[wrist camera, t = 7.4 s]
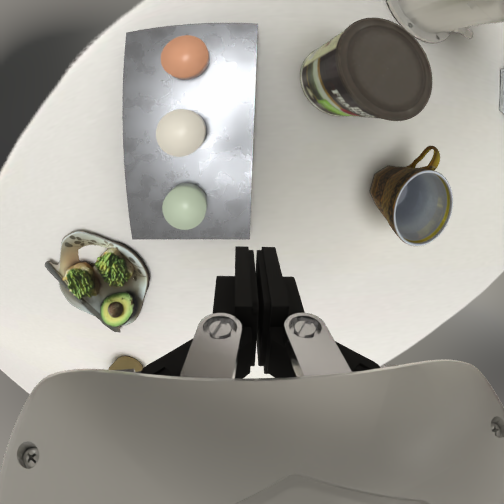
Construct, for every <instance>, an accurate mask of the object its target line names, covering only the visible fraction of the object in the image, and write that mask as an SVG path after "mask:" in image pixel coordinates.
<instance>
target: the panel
mask: <svg viewBox="0 0 504 504" xmlns="http://www.w3.org/2000/svg"><path fill="white" fill-rule="evenodd" d="M184 35H190V36H195V37H197V38H199V39H201V40H202V41H203V42H204V43H205V45H206V47H207V50H208V52H209V58H210V59H209V64H208V66H207V68H206V69H205V71H204V72H203V73H202V74H200V75H199V76H197V77H195V78H193V79H188V80H182V79H177V78H175V77H173V76H172V75H170V74H169V73H167V72H166V71H165V70H164V68H163V67H162V64H161V53H162V51H163V49H164V47H165V46H166V45H167V43H169V42H170V41H171V40H173V39H174V38H176V37H179V36H184ZM257 36H258V24H251V23H203V24H187V25H175V26H166V27H158V28H151V29H144V30H138V31H133V32H128V33H126V43H125V56H124V73H123V147H124V165H125V179H126V190H127V200H128V209H129V218H130V226H131V233H132V239H250V213H251V186H252V160H253V134H254V109H255V84H256V60H257ZM178 109H185V110H190V111H193V112H195V113H197V114H198V115H200V116H201V118H202V119H203V120H204V122H205V125H206V136H205V139H204V141H203V143H202V145H201V146H200V147H199V148H198V149H197V150H195V151H194V152H193V153H191V154H189V155H187V156H182V157H176V156H171V155H169V154H167V153H165V152H164V151H163V150H162V149H161V148H160V146H159V145H158V142H157V139H156V129H157V125H158V123H159V121H160V120H161V119H162V117H163V116H165V115H166V114H167V113H169V112H171V111H173V110H178ZM182 183H191V184H194V185H196V186H198V187H199V188H201V189H202V190H203V192H204V193H205V195H206V198H207V209H206V213H205V216H204V219H203V220H202V222H201V223H200V224H199V225H198V226H196V227H195V228H192V229H189V230H181V229H177V228H175V227H173V226H171V225H170V224H169V223H168V222H167V221H166V219H165V217H164V215H163V211H162V206H163V201H164V199H165V197H166V196H167V195H168V193H169V192H170V191H171V190H172V189H173V188H174V187H175V186H177V185H179V184H182Z"/></svg>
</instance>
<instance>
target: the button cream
mask: <svg viewBox="0 0 504 504" xmlns="http://www.w3.org/2000/svg"><path fill="white" fill-rule="evenodd" d="M205 136H206V125H205V122H204V120H203V119H202V118H201V116H200V115H198V114H197V113H195V112H193V111H190V110H185V109H178V110H173V111H171V112H169V113H167V114H166V115H165V116H163V117H162V119H161V120H160V121H159V123H158V125H157V129H156V139H157V142H158V145H159V146H160V148H161V149H162V150H163V151H164V152H165V153H167V154H169V155H171V156H176V157H182V156H187V155H189V154H191V153H193V152H194V151H195V150H197V149H198V148H199V147H200V146H201V145H202V143H203V141H204V139H205Z"/></svg>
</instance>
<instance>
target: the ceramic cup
mask: <svg viewBox="0 0 504 504" xmlns="http://www.w3.org/2000/svg"><path fill="white" fill-rule="evenodd" d="M431 149H434V155H433V158H432V160H431V161H430V163H429V164H428V166H425V167H421V168H415V166H416V164H417V163H418V162H419V161H421V160H422V159H423V158H424V156H425V155H426V154H427V153H428V152H429V151H430V150H431ZM439 161H440V153H439V151H438V149H437V148H436V147H434V146H428V147H427V148H426V149H425V150H424V151H423V152H422V153H421V155H420V156H419V157H418V158H417V159H415V160H414V161H413V163H412V164H410V165H409V166H407V167H395V166H387V167H385V168H384V169H382V170H381V171H379V172H378V173H376V174H375V175H374V178H373V182H372V185H371V189H370V193H371V195H372V197H373V200H374V202H375V204H376V206H377V207H378V209H379V210H380V211H381V213H382V214H383V215H384V217H385V218H386V219H387V221H388V223H389V224H390V226H391V228H392V229H393V230H394V232H395V233H396V234H397V236H398V237H399V238H400V239H401V240H402V241H403V242H404V243H406V244H408V245H411V246H423V245H426V244H428V243H430V242H432V241H433V240H435V239H436V238H437V237H438V236H439V235H440V234H441V233H442V232H443V230H444V229H445V227H446V226H447V224H448V222H449V219H450V216H451V213H452V208H453V195H452V190H451V187H450V185H449V183H448V181H447V179H446V178H445V177H444V176H443V175H442V174H440V173H439V172H437V171H435V169H436V168H437V166H438V164H439Z"/></svg>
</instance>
